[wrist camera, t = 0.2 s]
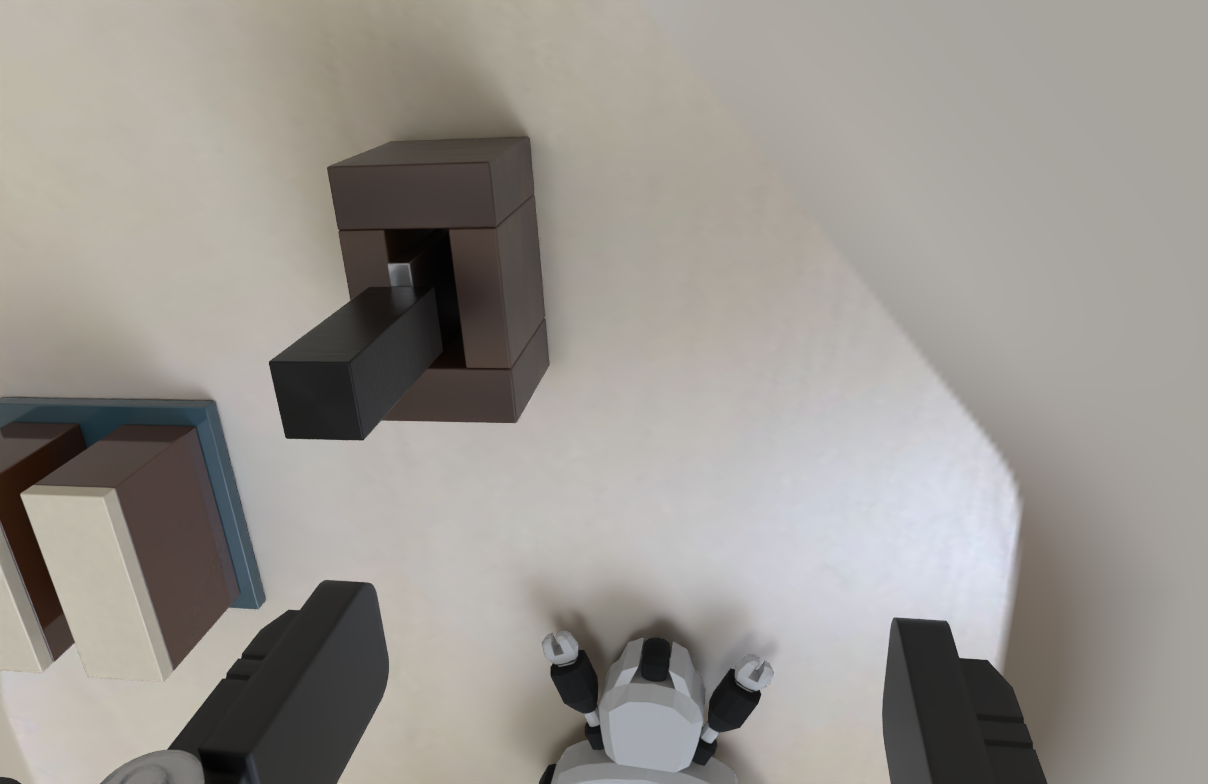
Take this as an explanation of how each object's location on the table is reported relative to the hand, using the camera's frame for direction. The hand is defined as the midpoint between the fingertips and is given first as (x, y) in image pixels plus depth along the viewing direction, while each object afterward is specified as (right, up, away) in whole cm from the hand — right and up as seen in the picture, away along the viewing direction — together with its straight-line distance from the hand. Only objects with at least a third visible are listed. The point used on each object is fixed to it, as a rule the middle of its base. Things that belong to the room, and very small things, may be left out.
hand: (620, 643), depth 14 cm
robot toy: (+2, -14, +34) cm, 37 cm away
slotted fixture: (-25, -2, +33) cm, 41 cm away
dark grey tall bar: (-6, +10, +24) cm, 27 cm away
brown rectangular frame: (-6, +10, +24) cm, 27 cm away
